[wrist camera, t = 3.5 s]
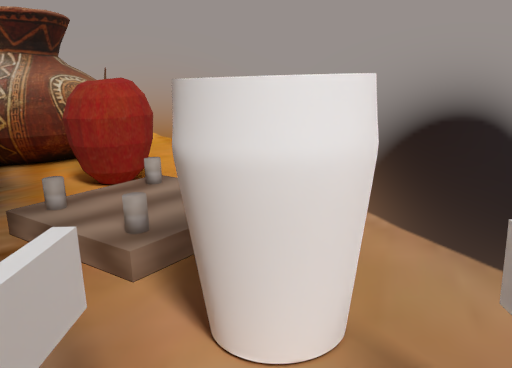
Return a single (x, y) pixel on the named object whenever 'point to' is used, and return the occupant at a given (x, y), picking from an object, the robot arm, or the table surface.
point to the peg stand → (115, 222)
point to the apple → (109, 128)
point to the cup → (276, 204)
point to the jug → (34, 86)
